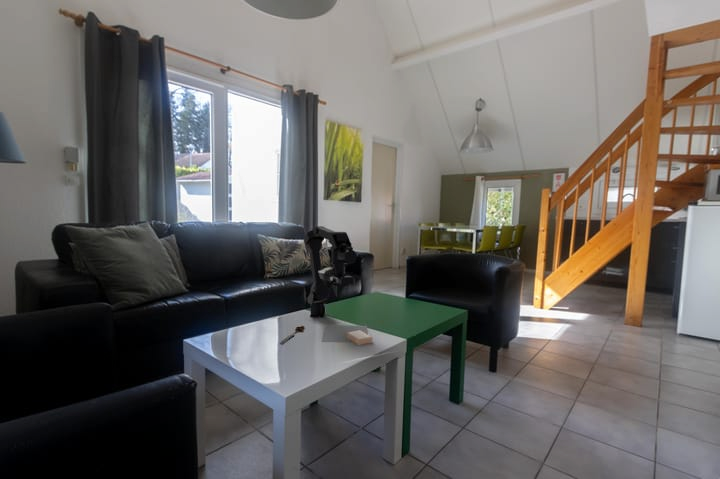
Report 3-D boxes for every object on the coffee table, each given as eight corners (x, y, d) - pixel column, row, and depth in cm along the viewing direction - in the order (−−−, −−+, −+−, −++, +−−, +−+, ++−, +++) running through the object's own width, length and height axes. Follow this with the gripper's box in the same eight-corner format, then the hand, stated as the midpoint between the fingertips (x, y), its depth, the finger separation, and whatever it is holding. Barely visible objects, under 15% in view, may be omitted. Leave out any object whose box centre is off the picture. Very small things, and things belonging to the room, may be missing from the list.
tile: (346, 332, 137) (358, 339, 129) (360, 329, 140) (372, 336, 132) (346, 337, 137) (358, 345, 129) (359, 335, 140) (372, 342, 132)
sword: (280, 351, 124) (280, 345, 124) (271, 349, 125) (271, 344, 125) (308, 329, 148) (308, 324, 148) (300, 328, 149) (300, 323, 149)
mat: (321, 343, 132) (321, 341, 132) (325, 326, 152) (325, 324, 152) (369, 343, 132) (369, 342, 132) (366, 327, 152) (366, 325, 152)
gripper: (312, 259, 154) (311, 294, 155) (331, 265, 138) (330, 304, 139) (334, 258, 160) (334, 292, 161) (355, 263, 144) (354, 301, 145)
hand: (337, 297), depth 151 cm, fingers closed
